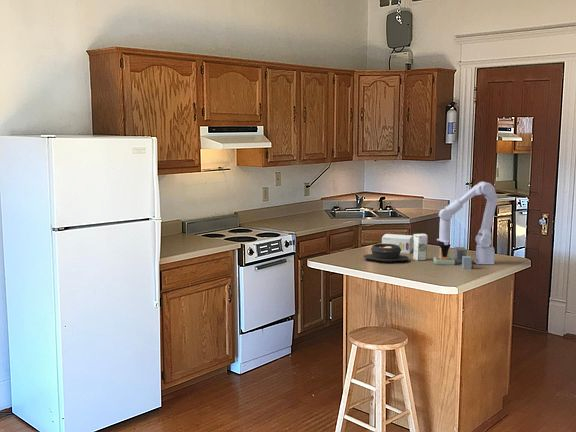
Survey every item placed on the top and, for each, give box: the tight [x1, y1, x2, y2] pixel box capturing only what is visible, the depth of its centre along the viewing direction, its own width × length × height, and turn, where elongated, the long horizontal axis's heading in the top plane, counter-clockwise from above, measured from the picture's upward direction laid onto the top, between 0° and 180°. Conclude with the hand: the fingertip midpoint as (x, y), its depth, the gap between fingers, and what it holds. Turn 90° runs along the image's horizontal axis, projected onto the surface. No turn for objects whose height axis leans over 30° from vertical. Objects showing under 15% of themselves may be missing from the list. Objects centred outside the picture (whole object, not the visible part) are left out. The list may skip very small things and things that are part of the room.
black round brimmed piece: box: [362, 243, 409, 263], centre depth 348 cm, size 25×19×8 cm
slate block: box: [461, 256, 473, 270], centre depth 328 cm, size 4×4×6 cm
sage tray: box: [432, 256, 455, 266], centre depth 341 cm, size 10×10×2 cm
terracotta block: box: [438, 246, 449, 260], centre depth 341 cm, size 4×4×6 cm
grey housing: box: [453, 246, 468, 266], centre depth 342 cm, size 7×11×8 cm, turn 174°
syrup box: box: [412, 233, 428, 262], centre depth 349 cm, size 6×6×14 cm
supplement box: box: [381, 233, 414, 254], centre depth 376 cm, size 17×13×9 cm
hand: (443, 255), depth 341 cm, fingers closed on terracotta block, 4 cm apart
